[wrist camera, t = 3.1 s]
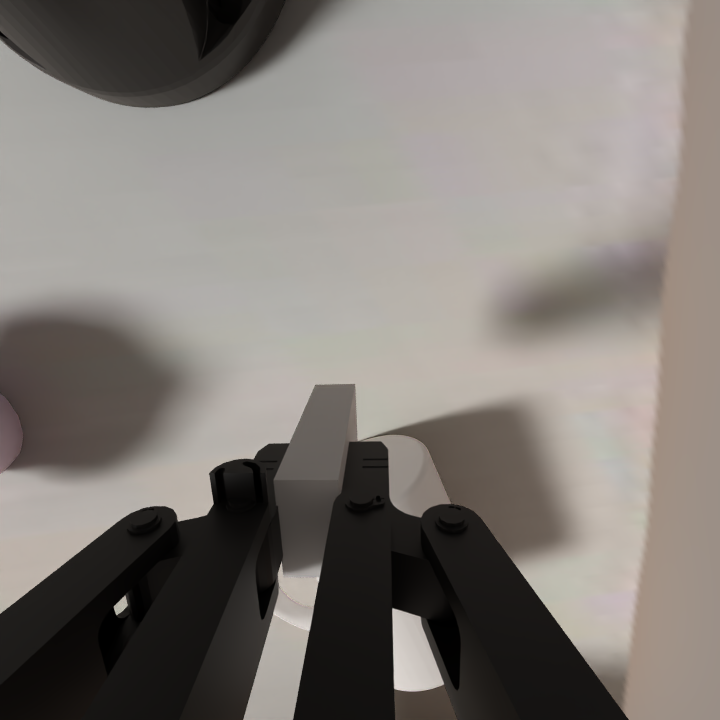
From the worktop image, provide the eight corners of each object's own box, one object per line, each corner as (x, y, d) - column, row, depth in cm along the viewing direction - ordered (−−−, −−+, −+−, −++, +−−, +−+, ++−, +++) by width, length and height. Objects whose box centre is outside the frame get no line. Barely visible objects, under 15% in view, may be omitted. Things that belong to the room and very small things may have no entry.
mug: (421, 417, 25) (437, 498, 18) (477, 549, 28) (512, 671, 20) (241, 482, 27) (186, 581, 20) (308, 601, 30) (283, 730, 22)
